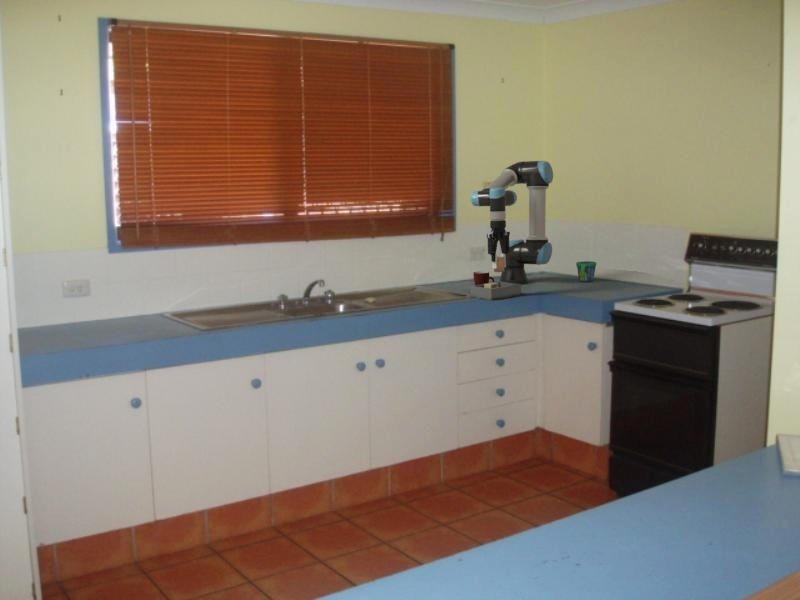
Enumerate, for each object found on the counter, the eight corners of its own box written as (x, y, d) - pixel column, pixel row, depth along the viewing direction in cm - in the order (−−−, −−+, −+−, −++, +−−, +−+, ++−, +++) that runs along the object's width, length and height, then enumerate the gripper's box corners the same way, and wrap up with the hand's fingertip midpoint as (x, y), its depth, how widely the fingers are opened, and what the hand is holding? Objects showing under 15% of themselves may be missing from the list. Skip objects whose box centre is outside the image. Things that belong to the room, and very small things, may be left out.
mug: (492, 289, 464) (491, 270, 463) (496, 291, 456) (495, 272, 455) (472, 291, 463) (471, 271, 461) (475, 293, 455) (475, 273, 453)
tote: (500, 292, 455) (499, 281, 454) (521, 295, 443) (521, 284, 442) (470, 297, 443) (470, 286, 442) (491, 300, 431) (491, 289, 430)
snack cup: (590, 283, 471) (590, 264, 469) (571, 283, 476) (571, 264, 475) (600, 279, 484) (600, 261, 482) (582, 279, 490) (582, 260, 488)
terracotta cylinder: (506, 271, 438) (506, 257, 437) (499, 272, 435) (498, 258, 434) (499, 270, 442) (499, 256, 441) (492, 271, 439) (491, 257, 438)
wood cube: (491, 292, 448) (491, 282, 448) (498, 293, 445) (498, 283, 444) (484, 293, 445) (484, 283, 445) (491, 294, 442) (491, 284, 441)
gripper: (505, 218, 443) (507, 265, 447) (478, 221, 432) (480, 269, 436) (516, 218, 437) (517, 266, 441) (489, 221, 426) (490, 270, 430)
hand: (499, 267), depth 438 cm, fingers closed on terracotta cylinder, 5 cm apart
